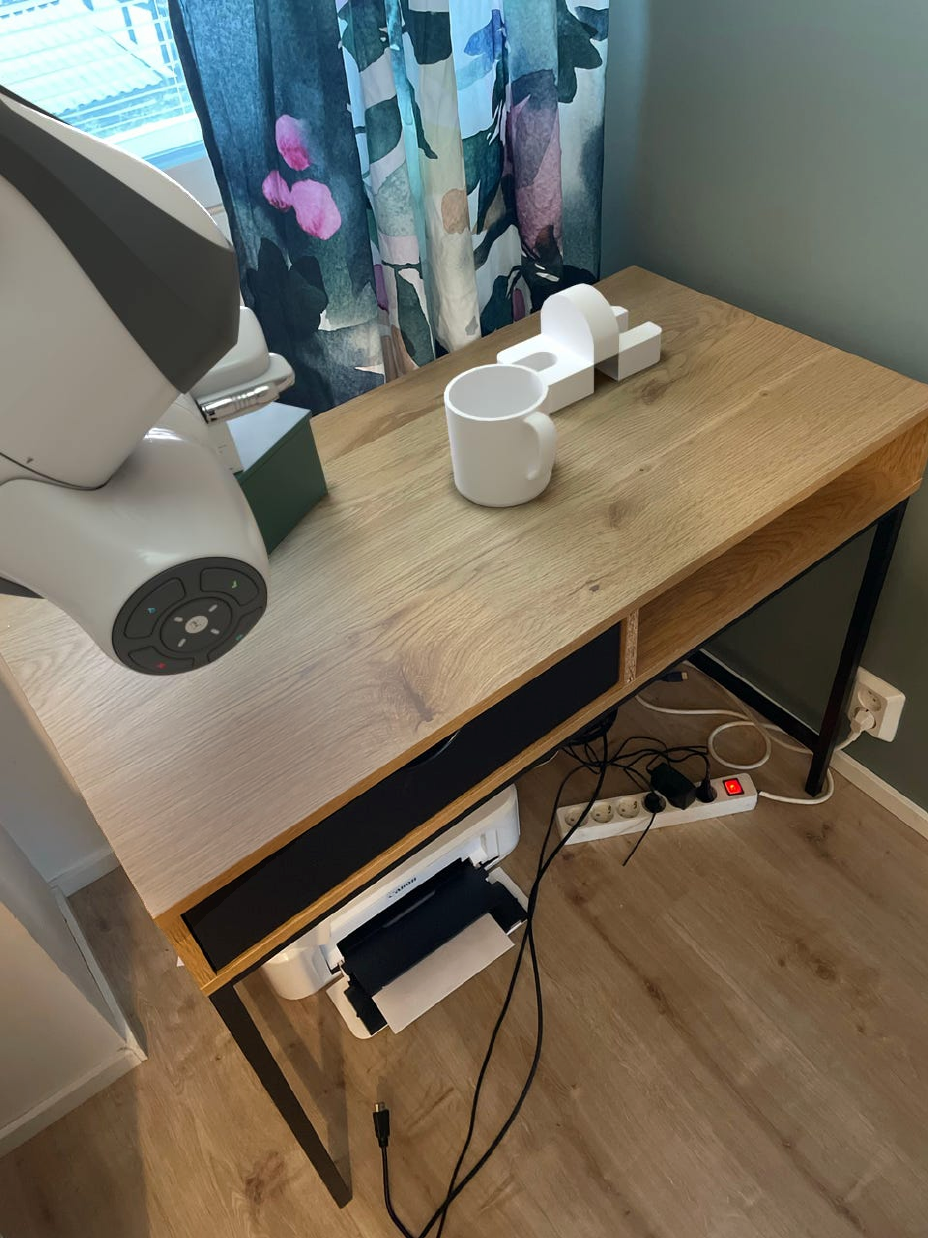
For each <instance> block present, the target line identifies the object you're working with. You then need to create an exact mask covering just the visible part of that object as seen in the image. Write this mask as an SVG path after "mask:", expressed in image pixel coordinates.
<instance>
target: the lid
mask: <svg viewBox="0 0 928 1238" xmlns="http://www.w3.org/2000/svg"><path fill="white" fill-rule="evenodd" d="M312 418H313V412H312V409H307V408H302V407H298V406H293V405H289V404H285V403H281V402H275V401H273V402H271V403H270V404H268V405H267V406H265V407H264V408H262V409H260V410H257V411H255V412H252V413H249V414H246V415H244V416H241V417H238V418H235V419H232V420H229V421H227V423H228V426H229V429H230V432H231V435H232V437H233V440H234V443H235V446H236V449H237V451H238V454H239V457H240V460H241V463H242V466H243V470H241V471H238V472H236V473H233V475H234V477H235V478H236V480H237V482H238V484H239V486H240V485H241V484H242V483H243V482H244V481H246V480H247V479H248V478H249V477H250V476H251V475H252V474H253V473H254V472H255V471H256V470H257V469H258V468H259V467H260V466H261V465H262V464H263V463H265V462H266V461H267V460H268V459H269V458H270V457H271V456H272V455H273V454H274V453H275V452H276V451H277V450H278V449H279V448H280V447H281V446H282V445H284V444H285V443H286V442H287V441H288V440H289V439H290V438H291V437H292V436H293V435H294V434H295V433H296V432H297V431H298V430H299V429H300V428H301V427H303V426H304V425H305V424H306V423H307V422H308V421H311V419H312Z"/></svg>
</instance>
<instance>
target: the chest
mask: <svg viewBox="0 0 928 1238" xmlns="http://www.w3.org/2000/svg"><path fill="white" fill-rule="evenodd" d="M240 488H241V489H242V491H243V493H244V495H245V497H246V499H247V502H248V504H249V506H250V508H251V510H252V513H253V515H254V517H255V520H256V522H257V525H258V528H259V530H260V533H261V536H262V539H263V542H264V545H265V548H266V552H267V556H269V555H270V553H272V552H273V550H274V549H275V548H276V547H277V546H278V545H279V544H280V543H281V542H282V541H283V540H284V539H285V538H286V536H288V534H289V533H291V531H293V529H294V528H295V527H296V526H297V525H298V524H299V523H300V522H301V520H302V519H304V517H305V516H306V515H307V514H308V513H309V512H310V511H311V510H312V509H313V508H314V507H315V506H316V505H317V503H318V502H319V501H321V499H323V497H324V496H325V495H327V493H328V486H327V482H326V479H325V474H324V471H323V467H322V463H321V459H320V455H319V452H318V448H317V444H316V441H315V437H314V432H313V428H312V425H311V420H309V421H308V422H307V423H306V424H305V425H304V426H303V427H301V428H300V429H299V430H298V431H297V432H296V433H295V434H294V435H293V436H292V437H291V438H290V439H289V440H288V441H287V442H286V443H285V444H284V445H282V446H281V447H280V448H279V449H278V450H277V451H276V452H275V453H274V454H273V455H272V456H271V457H270V458H269V459H268V460H267V461H266V462H265V463H263V464H262V465H261V466H260V467H259V468H258V469H257V470H256V471H255V472H254V473H253V474H252V475H251V476H250V477H249V478H248V479H247V480H246V481H244V482H243V483H242V484H241V485H240Z"/></svg>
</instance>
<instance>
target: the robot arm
mask: <svg viewBox="0 0 928 1238" xmlns="http://www.w3.org/2000/svg"><path fill="white" fill-rule="evenodd" d="M240 283H241V282H240V272H239V264H238V257H237V252H236V248H235V246H234V245H233V244H232V243H231V241H230V240H229V239H228V238H227V237H226V236H225V235H224V233H223V231H222V230H221V228H220V227H219V225H218V223H217V222H216V221H215V219H214V218H213V217H212V216H211V214H210V213H209V212H208V211H207V209H206V208H205V207H203V206H202V205H201V203H200V202H199V201H198V200H197V199H196V198H195V197H194V196H193V195H192V194H190V193H189V191H187V190H186V189H185V188H184V187H183V186H181V185H180V184H179V183H178V182H177V181H175V179H173V178H171V177H170V176H169V175H168V174H166V173H165V172H163V171H162V170H160V169H158V168H157V167H156V166H154V165H152V164H151V163H150V162H147V161H145V160H144V159H143V158H141V157H139V156H137V155H136V154H133V153H132V152H129V151H127V150H126V149H123V148H122V147H120V146H117V145H115V144H113V143H111V142H108V141H106V140H104V139H101V138H100V137H97V136H94V135H93V134H89V133H87V132H85V131H83V130H81V129H79V128H78V127H76V126H74V125H72V124H71V123H69V122H67V121H66V120H63V119H61V118H59V117H58V116H56V115H54V114H53V113H50V111H47V110H45V109H43V108H42V107H40V106H38V105H36V104H34V103H33V102H31V101H29V100H27V99H26V98H24V97H23V96H20V95H19V94H17V93H15V92H14V91H12V90H11V89H9V88H7V87H6V86H4V85H2V84H0V594H1V595H6V596H13V597H21V598H28V599H37V600H46V601H48V602H50V603H52V604H53V605H54V606H56V607H57V608H58V609H60V610H61V611H62V612H64V613H65V614H66V615H67V616H69V617H70V618H71V619H72V620H73V621H74V622H75V623H77V625H79V627H81V629H82V630H83V631H84V632H85V633H86V634H87V636H89V638H90V639H91V641H92V642H94V644H95V645H96V646H97V647H98V648H99V649H100V651H102V653H104V655H106V657H108V658H109V659H110V660H112V661H113V662H114V663H116V664H117V665H119V666H121V667H122V668H125V669H126V670H128V671H132V672H135V673H138V674H141V675H143V676H144V675H145V676H150V677H151V676H152V677H165V676H166V677H169V676H176V675H177V676H178V675H181V674H182V675H183V674H186V673H189V672H193V671H196V670H200V669H202V668H203V667H207V666H209V665H210V664H213V663H214V662H216V661H218V660H219V659H221V658H222V657H223V656H225V655H226V654H228V653H229V652H231V651H232V650H233V649H234V648H235V647H236V646H237V645H238V644H240V643H241V641H242V640H244V638H245V637H246V636H247V635H248V634H249V633H250V632H251V631H252V630H253V629H254V628H255V627H256V625H257V624H258V623H259V622H260V620H261V619H262V618H263V616H264V615H265V612H266V611H267V608H268V605H269V600H270V597H271V596H270V595H271V588H272V575H271V565H270V561H269V557H268V556H269V555H267V552H266V548H265V545H264V542H263V539H262V536H261V533H260V530H259V528H258V525H257V522H256V520H255V517H254V515H253V513H252V510H251V508H250V506H249V504H248V502H247V499H246V497H245V495H244V493H243V491H242V489H241V488H240V486H239V484H238V482H237V480H236V478H235V477H234V475H233V473H232V472H231V471H230V469H229V468H228V467H227V466H226V465H225V464H224V463H223V462H222V458H221V454H220V451H219V448H218V445H217V443H216V441H215V438H214V437H213V435H212V433H211V431H210V429H209V427H211V426H214V425H217V424H220V423H223V422H226V421H229V420H232V419H235V418H238V417H241V416H244V415H246V414H249V413H252V412H255V411H257V410H260V409H262V408H264V407H265V406H267V405H268V404H270V403H271V402H275V401H276V400H278V399H280V393H282V392H283V391H285V390H287V389H288V388H289V387H291V386H293V385H294V384H295V377H296V373H295V370H294V369H293V368H292V366H291V365H290V364H289V362H288V361H287V359H286V358H285V357H284V356H283V355H281V354H279V353H276V352H275V353H274V352H269V348H268V345H267V342H266V339H265V335H264V333H263V329H262V326H261V324H260V321H259V320H258V318H257V316H256V314H255V313H254V311H253V310H252V309H251V308H250V307H246V306H241V286H240V285H241V284H240Z"/></svg>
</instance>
